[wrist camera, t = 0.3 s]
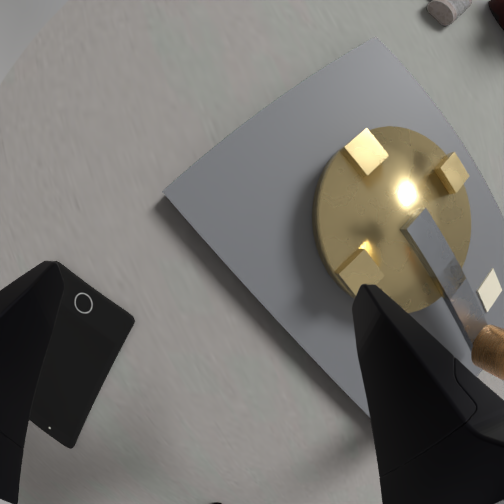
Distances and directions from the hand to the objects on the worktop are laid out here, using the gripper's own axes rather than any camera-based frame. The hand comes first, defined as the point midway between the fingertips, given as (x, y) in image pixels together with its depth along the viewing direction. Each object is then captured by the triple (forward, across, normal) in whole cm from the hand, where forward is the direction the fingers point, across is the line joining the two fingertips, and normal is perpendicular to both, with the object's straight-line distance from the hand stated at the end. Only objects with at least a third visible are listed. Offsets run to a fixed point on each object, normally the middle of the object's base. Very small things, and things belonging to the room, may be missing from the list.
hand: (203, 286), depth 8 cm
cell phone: (+7, +14, +18) cm, 24 cm away
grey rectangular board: (+13, -16, +7) cm, 22 cm away
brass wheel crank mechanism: (+11, -17, +7) cm, 21 cm away
